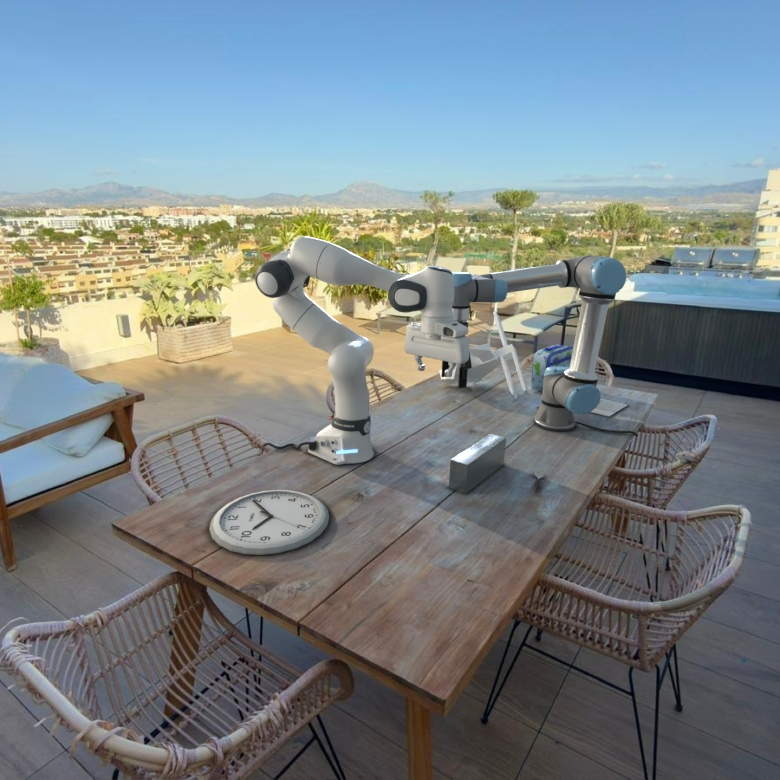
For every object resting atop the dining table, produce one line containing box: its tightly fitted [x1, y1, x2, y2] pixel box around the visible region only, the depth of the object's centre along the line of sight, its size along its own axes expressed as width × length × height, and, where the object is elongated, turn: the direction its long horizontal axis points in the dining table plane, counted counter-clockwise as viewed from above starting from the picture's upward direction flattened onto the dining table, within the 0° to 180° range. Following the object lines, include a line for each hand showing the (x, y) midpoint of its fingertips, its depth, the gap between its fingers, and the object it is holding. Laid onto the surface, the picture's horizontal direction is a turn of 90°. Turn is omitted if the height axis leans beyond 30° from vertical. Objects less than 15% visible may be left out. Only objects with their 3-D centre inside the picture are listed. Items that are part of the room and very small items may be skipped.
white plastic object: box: [438, 310, 531, 400], centre depth 245 cm, size 37×45×31 cm
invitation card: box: [590, 397, 629, 418], centre depth 226 cm, size 21×1×15 cm
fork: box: [534, 465, 545, 494], centre depth 157 cm, size 3×16×2 cm, turn 160°
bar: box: [448, 433, 507, 494], centre depth 160 cm, size 25×6×9 cm, turn 143°
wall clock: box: [209, 489, 330, 556], centre depth 135 cm, size 30×2×30 cm
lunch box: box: [530, 344, 574, 392], centre depth 247 cm, size 26×11×21 cm, turn 134°
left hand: (434, 373), depth 150 cm, fingers open, 8 cm apart
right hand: (453, 382), depth 179 cm, fingers open, 13 cm apart
